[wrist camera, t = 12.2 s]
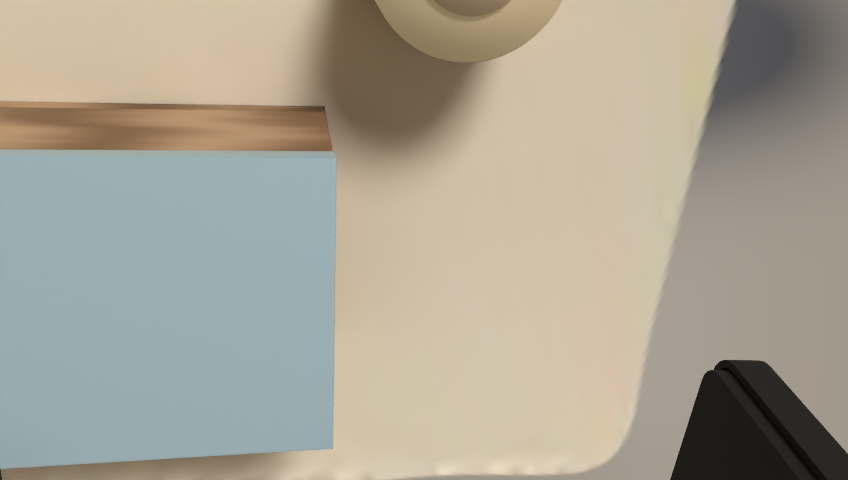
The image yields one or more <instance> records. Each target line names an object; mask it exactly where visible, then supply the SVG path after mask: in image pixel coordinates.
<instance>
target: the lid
mask: <svg viewBox="0 0 848 480" xmlns="http://www.w3.org/2000/svg"><path fill="white" fill-rule="evenodd" d="M335 238H336V155H335V151H181V150H9V149H0V469H10V468H26V467H42V466H59V465H75V464H91V463H107V462H124V461H140V460H156V459H173V458H189V457H205V456H221V455H238V454H254V453H270V452H286V451H303V450H319V449H333V405H334V322H335Z"/></svg>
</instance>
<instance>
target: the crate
mask: <svg viewBox="0 0 848 480" xmlns="http://www.w3.org/2000/svg"><path fill="white" fill-rule="evenodd" d="M0 149H9V150H181V151H332V146H331V140H330V135H329V129H328V124H327V119H326V113H325V108H324V107H314V106H251V105H189V104H126V103H63V102H0Z"/></svg>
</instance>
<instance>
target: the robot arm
mask: <svg viewBox="0 0 848 480" xmlns="http://www.w3.org/2000/svg"><path fill="white" fill-rule="evenodd" d="M0 480H2V477H1V471H0ZM670 480H848V454H847V453H846V451H845V450H844V449H843V448H842V447H841V446H840V445H839V444H838V442H837V441H836V440H835V439H834V438H833V437H832V436H831V435H830V433H829V432H828V431H827V430H826V429H825V428H824V427H823V425H821V423H820V422H819V421H818V420H817V419H816V418H815V416H813V414H812V413H811V412H810V411H809V410H808V409H807V407H806V406H805V405H804V404H803V403H802V402H801V401H800V399H799V398H798V397H797V396H796V395H795V394H794V393H793V392H792V390H791V389H790V388H789V387H788V386H787V385H786V384H785V383H784V381H783V380H782V379H781V378H780V377H779V376H778V375H777V374H776V373H775V371H774V370H773V369H772V368H771V367H770V366H769V365H768V364H767V363H765V362H763V361H754V360H753V361H752V360H723V361H720V362H719V363H718V364H717V365H716V366H715V368H714V370H710V371H707V373H706V374H705V375H704V377H703V379H702V382H701V385H700V388H699V391H698V394H697V397H696V400H695V404H694V407H693V410H692V413H691V416H690V419H689V422H688V426H687V429H686V432H685V435H684V438H683V442H682V445H681V448H680V451H679V454H678V457H677V460H676V463H675V467H674V470H673V473H672V476H671V479H670Z"/></svg>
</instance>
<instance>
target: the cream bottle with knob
mask: <svg viewBox="0 0 848 480" xmlns="http://www.w3.org/2000/svg"><path fill="white" fill-rule="evenodd" d="M374 1H375V2H376V4H377V6H378V7H379V9H380V11H381V12H382V14H383V16H384V17H385V19H386V21H387V22H388V23H389V24H390V26H391V27H392V28H393V30H394V31H395V32H396V33H397V34H398V35H399V36H400V37H401V38H402V39H403V40H405V41H406V42H407V43H409V44H410V45H411V46H413V47H414V48H416V49H418V50H419V51H421V52H423V53H425V54H427V55H430V56H432V57H435V58H438V59H441V60H446V61H450V62H460V63H472V62H481V61H487V60H491V59H494V58H498V57H501V56H503V55H505V54H508V53H510V52H512V51H514V50H516V49H517V48H519V47H521V46H522V45H524V44H525V43H527V42H528V41H529V40H530V39H532V38H533V37H534V36H535V35H536V34H537V33H538V32H539V31H540V30H541V29H542V28H543V27H544V26H545V25H546V24H547V23H548V22H549V20H550V19H551V18H552V16H553V15H554V14H555V12H556V10H557V9H558V7H559V5H560V4H561V2H562V0H374Z"/></svg>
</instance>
